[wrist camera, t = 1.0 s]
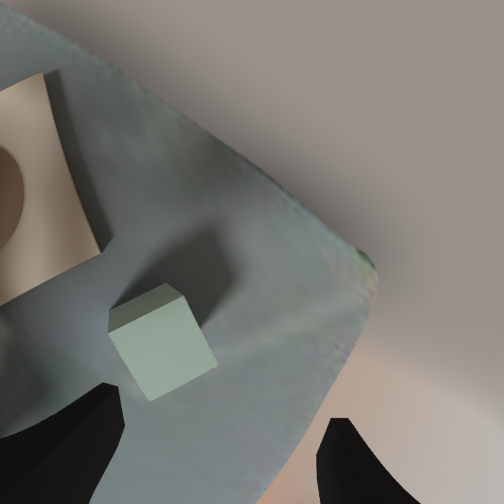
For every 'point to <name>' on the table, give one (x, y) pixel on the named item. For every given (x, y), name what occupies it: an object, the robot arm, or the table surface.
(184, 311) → the green block
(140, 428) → the table surface
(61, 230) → the display base
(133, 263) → the table surface
